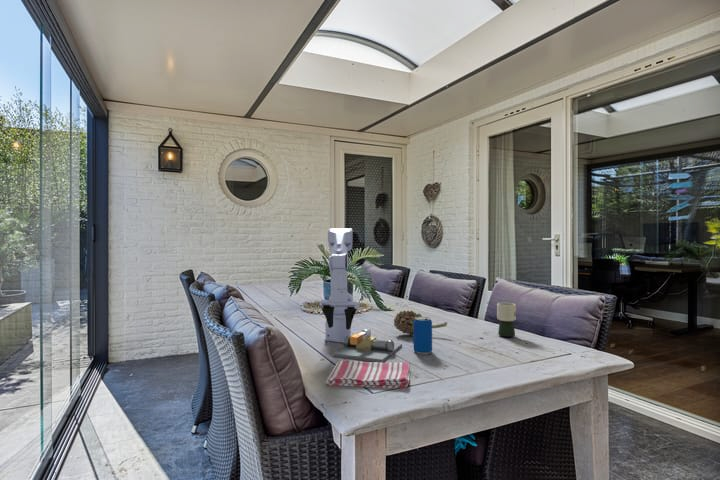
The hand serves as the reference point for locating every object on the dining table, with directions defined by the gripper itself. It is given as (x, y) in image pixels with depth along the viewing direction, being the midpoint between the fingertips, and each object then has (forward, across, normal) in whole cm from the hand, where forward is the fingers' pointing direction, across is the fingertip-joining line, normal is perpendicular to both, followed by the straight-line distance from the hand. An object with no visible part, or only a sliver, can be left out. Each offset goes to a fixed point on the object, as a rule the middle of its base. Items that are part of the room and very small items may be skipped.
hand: (339, 328), depth 143 cm
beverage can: (+10, +26, +14) cm, 31 cm away
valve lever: (+4, +7, +4) cm, 9 cm away
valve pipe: (+9, +8, +8) cm, 14 cm away
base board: (+9, +8, +8) cm, 14 cm away
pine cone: (+10, +18, +36) cm, 42 cm away
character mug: (+10, +50, +47) cm, 70 cm away
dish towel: (+10, +18, -15) cm, 25 cm away
